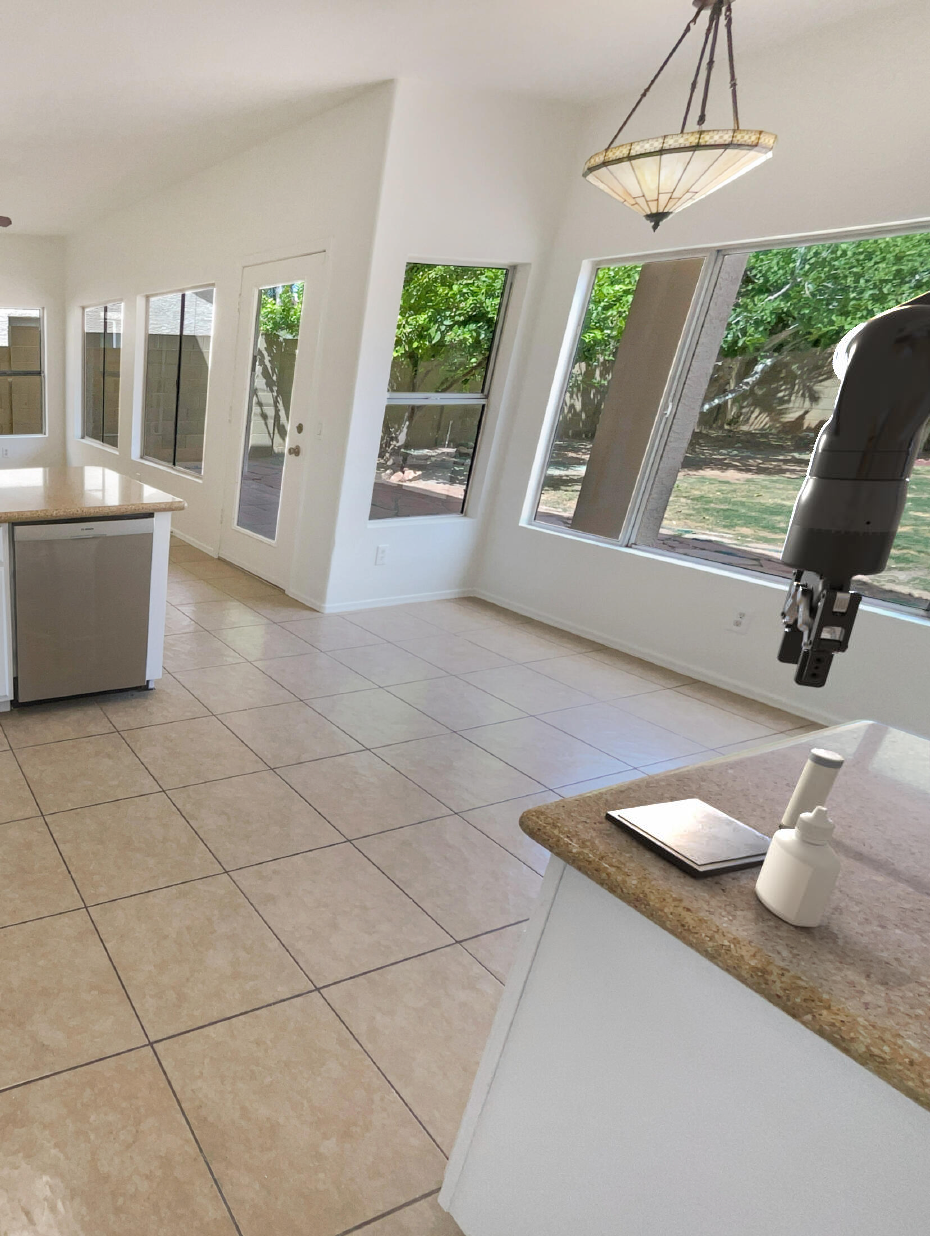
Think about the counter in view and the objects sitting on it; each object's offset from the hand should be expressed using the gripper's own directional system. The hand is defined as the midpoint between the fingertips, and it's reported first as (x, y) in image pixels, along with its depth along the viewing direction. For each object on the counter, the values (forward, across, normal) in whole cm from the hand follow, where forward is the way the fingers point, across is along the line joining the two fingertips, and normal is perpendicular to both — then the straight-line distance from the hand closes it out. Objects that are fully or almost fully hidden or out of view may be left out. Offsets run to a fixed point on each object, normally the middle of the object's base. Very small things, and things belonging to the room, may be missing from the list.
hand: (798, 673), depth 75 cm
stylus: (+21, +4, -4) cm, 22 cm away
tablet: (+20, -4, +5) cm, 21 cm away
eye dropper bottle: (+21, -13, -1) cm, 25 cm away
